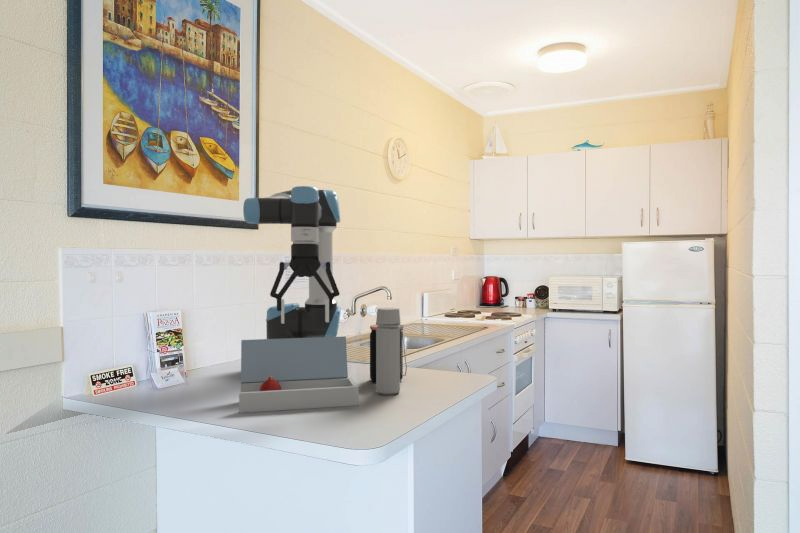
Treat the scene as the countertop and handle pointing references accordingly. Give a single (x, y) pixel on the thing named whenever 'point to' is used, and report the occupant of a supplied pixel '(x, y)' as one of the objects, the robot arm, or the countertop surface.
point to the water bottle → (388, 351)
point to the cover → (293, 359)
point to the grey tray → (299, 395)
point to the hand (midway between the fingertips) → (305, 322)
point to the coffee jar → (373, 353)
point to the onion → (270, 385)
